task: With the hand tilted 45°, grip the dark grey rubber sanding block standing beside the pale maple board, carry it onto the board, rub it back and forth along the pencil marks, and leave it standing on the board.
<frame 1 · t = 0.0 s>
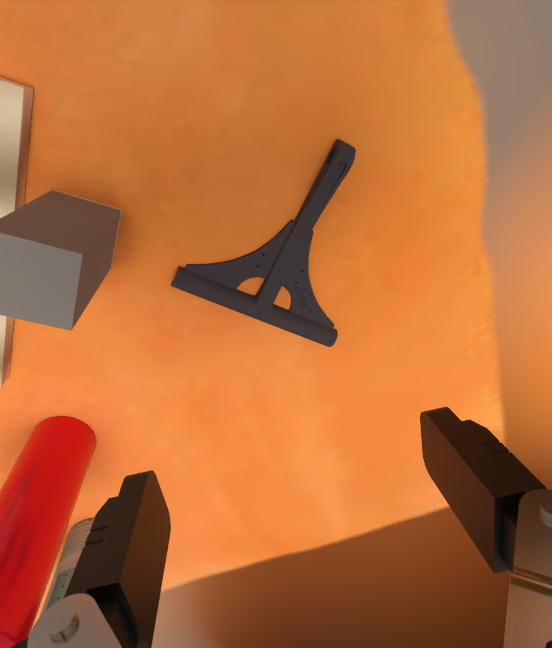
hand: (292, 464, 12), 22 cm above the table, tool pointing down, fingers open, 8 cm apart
sanding block: (84, 230, 30), on the table
bottle: (65, 437, 39), on the table
squeegee: (294, 235, 33), on the table
spray paint can: (100, 535, 45), on the table
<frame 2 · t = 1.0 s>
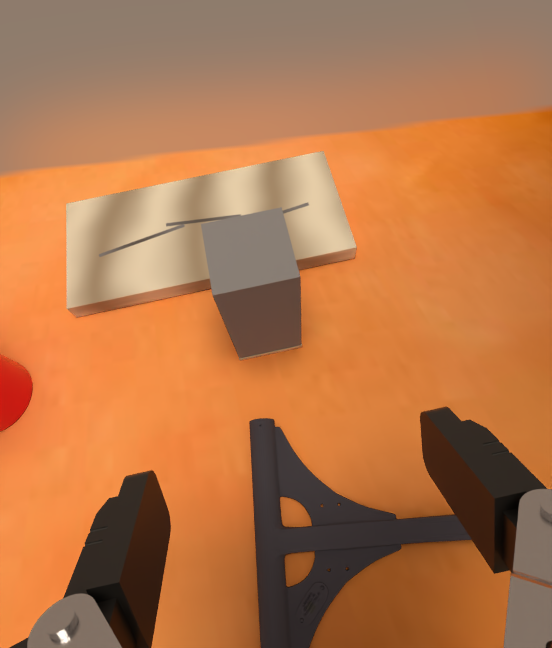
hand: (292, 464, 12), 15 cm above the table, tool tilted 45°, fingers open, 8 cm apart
sanding block: (264, 325, 31), on the table
board: (208, 235, 35), on the table
squeegee: (376, 533, 26), on the table
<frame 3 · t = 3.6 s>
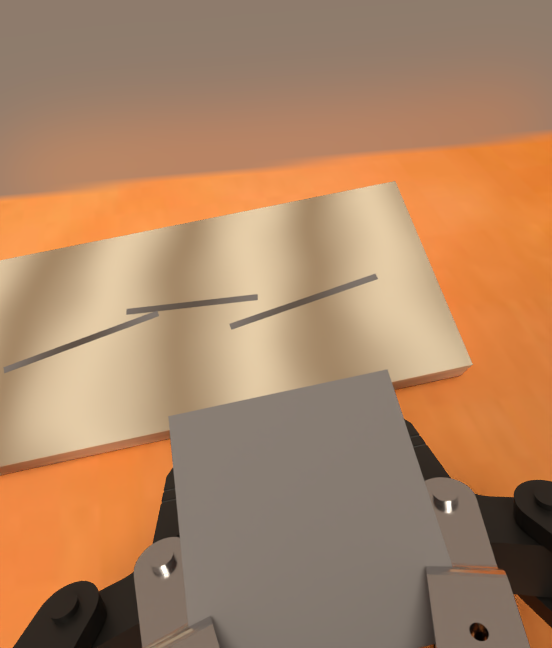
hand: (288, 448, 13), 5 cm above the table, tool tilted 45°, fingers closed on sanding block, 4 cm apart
sanding block: (302, 512, 17), on the table, touching gripper
board: (200, 325, 20), on the table
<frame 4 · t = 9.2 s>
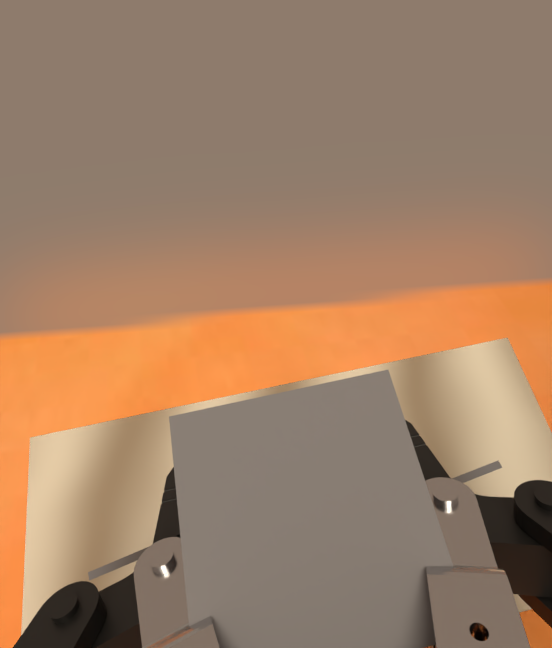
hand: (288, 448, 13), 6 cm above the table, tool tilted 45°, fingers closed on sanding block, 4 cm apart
sanding block: (303, 512, 17), point 2 cm above the table, touching gripper
board: (296, 505, 18), on the table
when the fingers open (7 cm above the table, at t = 15.1 s): sanding block stays where it is, resting on board.
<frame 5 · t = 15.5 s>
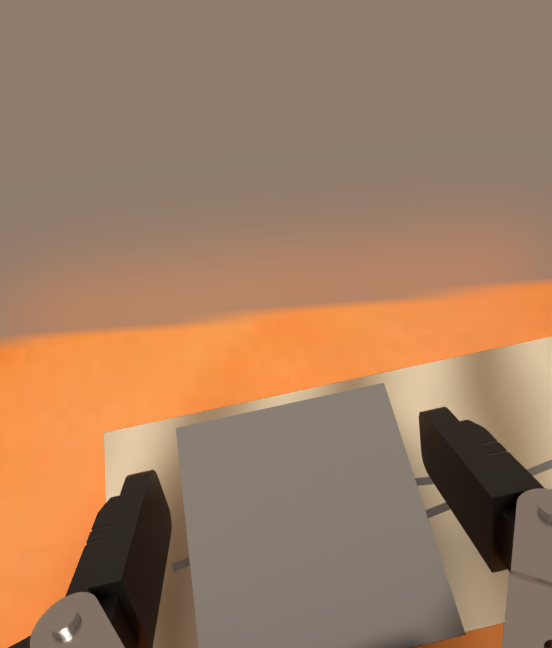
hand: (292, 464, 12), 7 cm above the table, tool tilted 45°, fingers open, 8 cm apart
sanding block: (303, 515, 17), point 2 cm above the table, touching board
board: (368, 498, 19), on the table
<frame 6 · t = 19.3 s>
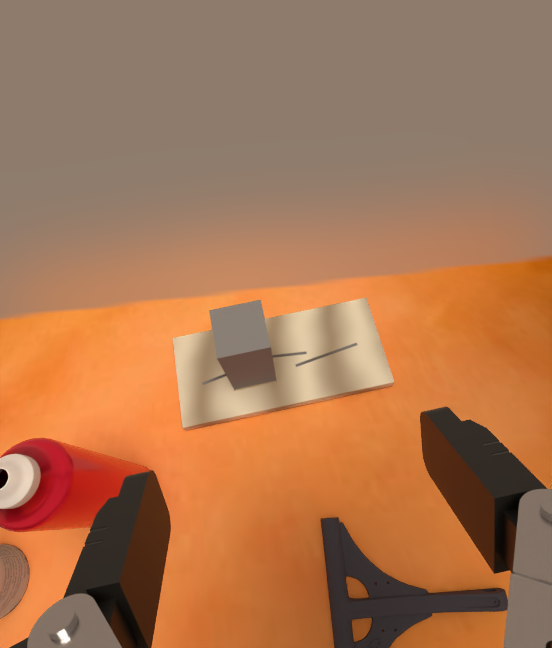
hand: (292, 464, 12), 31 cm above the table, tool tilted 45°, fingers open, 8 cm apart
sanding block: (252, 365, 44), point 2 cm above the table, touching board
bottle: (132, 494, 42), on the table
board: (280, 363, 46), on the table
squeegee: (413, 602, 37), on the table
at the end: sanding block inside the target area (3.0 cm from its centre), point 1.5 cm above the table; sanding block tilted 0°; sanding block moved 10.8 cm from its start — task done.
